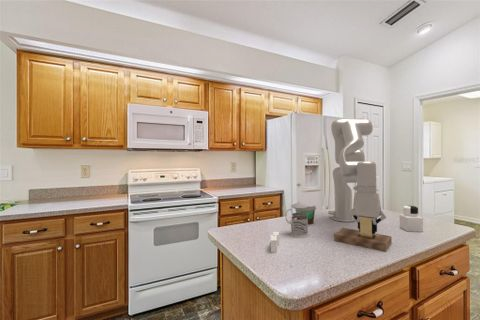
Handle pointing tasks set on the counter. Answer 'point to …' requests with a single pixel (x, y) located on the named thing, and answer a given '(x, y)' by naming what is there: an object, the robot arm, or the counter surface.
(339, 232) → the walnut square hole board
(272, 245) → the napkin holder
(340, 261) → the counter surface
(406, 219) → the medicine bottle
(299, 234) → the french press
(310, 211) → the food container
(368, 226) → the brass peg
